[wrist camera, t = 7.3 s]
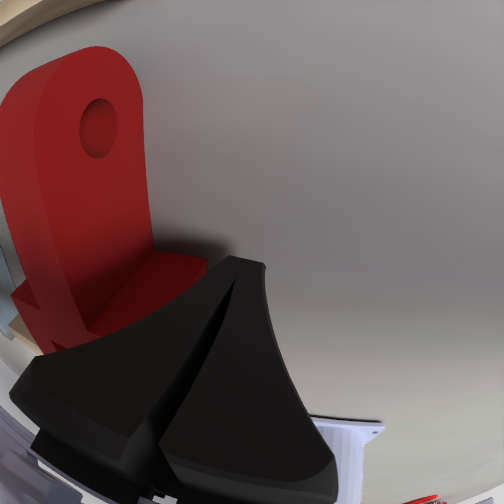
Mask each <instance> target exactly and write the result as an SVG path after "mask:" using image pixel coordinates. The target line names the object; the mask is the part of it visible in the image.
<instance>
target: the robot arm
mask: <svg viewBox="0 0 504 504" xmlns="http://www.w3.org/2000/svg"><path fill="white" fill-rule="evenodd" d="M265 269H266V266H265V265H264V263H262V262H257V261H253V260H248V259H244V258H239V257H235V256H230V255H229V256H227V257H226V258H225V259H224V260H222V261H221V262H220V263H219V264H218V265H217V266H216V267H215V268H213V269H212V270H211V271H210V272H209V273H208V274H206V275H205V276H204V277H203V278H201V279H200V280H199V281H198V282H196V283H195V284H194V285H193V286H191V287H190V288H189V289H187V290H186V291H185V292H183V293H182V294H180V295H179V296H177V297H176V298H174V299H173V300H172V301H170V302H169V303H167V304H166V305H164V306H162V307H161V308H159V309H158V310H156V311H154V312H153V313H151V314H149V315H147V316H146V317H144V318H142V319H140V320H138V321H136V322H134V323H132V324H130V325H128V326H126V327H124V328H122V329H120V330H117V331H115V332H113V333H111V334H109V335H106V336H103V337H101V338H98V339H96V340H93V341H90V342H87V343H84V344H81V345H78V346H75V347H72V348H68V349H64V350H60V351H57V352H53V353H49V354H44V355H40V356H35V358H34V359H33V360H32V361H31V363H30V364H29V365H28V367H27V368H26V369H25V371H24V372H23V373H22V375H21V376H20V378H19V379H18V380H17V382H16V383H15V385H14V386H13V388H12V389H11V391H10V392H9V395H10V399H11V400H12V402H13V403H14V404H15V405H16V406H17V407H18V408H19V409H20V410H21V411H22V412H23V413H24V414H25V415H26V416H27V417H28V418H30V420H32V421H33V422H34V423H35V424H36V425H37V426H38V427H39V428H40V430H39V432H38V434H37V435H36V436H35V435H34V434H33V433H32V432H30V431H29V430H28V429H27V428H25V427H24V426H23V425H22V424H20V423H19V422H18V421H17V420H16V419H15V418H13V417H12V416H11V415H10V414H9V413H8V412H6V410H4V409H3V408H2V407H1V406H0V504H83V503H81V499H82V497H83V496H82V494H81V493H80V492H79V491H77V490H76V489H74V488H73V487H72V486H70V485H69V484H67V483H66V482H64V481H63V480H61V479H59V478H58V477H56V476H54V475H53V474H51V473H49V472H48V471H46V470H44V469H43V468H41V467H39V465H38V460H40V461H41V462H42V463H43V464H45V465H46V466H48V467H49V468H50V469H52V470H53V471H55V472H56V473H57V474H59V475H60V476H62V477H64V478H65V479H66V480H68V481H70V482H71V483H73V484H74V485H76V486H78V487H79V488H81V489H83V490H84V491H86V492H88V493H90V494H91V495H93V496H95V497H97V498H99V499H101V500H103V501H104V502H106V503H108V504H159V503H156V502H154V501H152V499H153V497H154V495H155V496H158V497H161V498H163V499H164V497H165V495H167V496H170V497H173V498H176V499H178V500H177V503H176V504H361V496H362V480H363V449H364V445H365V444H367V443H368V442H369V441H371V440H372V439H373V438H374V437H376V436H377V435H378V434H380V433H381V432H382V431H383V430H384V429H385V424H384V423H372V422H355V421H342V420H332V419H323V418H315V417H310V415H309V414H308V412H307V410H306V408H305V407H304V405H303V403H302V401H301V399H300V397H299V395H298V392H297V390H296V388H295V386H294V384H293V382H292V380H291V378H290V376H289V373H288V371H287V368H286V366H285V363H284V361H283V358H282V356H281V353H280V350H279V347H278V344H277V341H276V338H275V334H274V331H273V327H272V323H271V319H270V315H269V310H268V304H267V298H266V291H265ZM37 459H38V460H37ZM476 504H493V498H492V497H491V498H488V499H486V500H483V501H481V502H479V503H476Z"/></svg>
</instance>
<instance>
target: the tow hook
mask: <svg viewBox="0 0 504 504" xmlns="http://www.w3.org/2000/svg"><path fill="white" fill-rule="evenodd" d="M437 497H438V495H432V496H428V497H424V498H421V499H418V500H415V501H412V502H410V503H404V504H420V503H424V502H427V501H430V500H433V499H435V498H437Z"/></svg>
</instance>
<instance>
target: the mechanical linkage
mask: <svg viewBox="0 0 504 504" xmlns="http://www.w3.org/2000/svg"><path fill="white" fill-rule="evenodd" d="M0 198H1V202H2V206H3V210H4V214H5V217H6V221H7V224H8V228H9V231H10V234H11V237H12V240H13V243H14V246H15V249H16V252H17V255H18V257H19V260H20V263H21V265H22V268H23V271H24V273H25V276H26V278H27V279H26V280H25V281H24V282H23V283H22V284H21V285H20V286H19V287H18V288H17V289H16V290H15V291H14V292H13V293H12V294H11V295H10V297H11V299H12V301H13V303H14V305H15V306H16V308H17V310H18V312H19V314H20V316H21V318H22V320H23V321H24V323H25V325H26V327H27V329H28V330H29V332H30V334H31V335H32V337H33V339H34V340H35V342H36V344H37V345H38V347H39V348H40V350H41V351H42V353H43V354H49V353H53V352H57V351H60V350H64V349H68V348H72V347H75V346H78V345H81V344H84V343H87V342H90V341H93V340H96V339H98V338H101V337H103V336H106V335H109V334H111V333H113V332H115V331H117V330H120V329H122V328H124V327H126V326H128V325H130V324H132V323H134V322H136V321H138V320H140V319H142V318H144V317H146V316H147V315H149V314H151V313H153V312H154V311H156V310H158V309H159V308H161V307H162V306H164V305H166V304H167V303H169V302H170V301H172V300H173V299H174V298H176V297H177V296H179V295H180V294H182V293H183V292H185V291H186V290H187V289H189V288H190V287H191V286H193V285H194V284H195V283H196V282H198V281H199V280H200V279H201V278H203V277H204V276H205V275H206V274H208V265H207V258H201V257H195V256H188V255H182V254H176V253H170V252H164V251H158V250H154V243H153V236H152V228H151V220H150V212H149V202H148V192H147V181H146V168H145V152H144V131H143V97H142V93H141V88H140V85H139V82H138V79H137V77H136V75H135V73H134V71H133V69H132V67H131V66H130V64H129V63H128V62H127V60H126V59H125V58H124V57H123V56H122V55H120V54H119V53H118V52H116V51H114V50H112V49H110V48H106V47H101V46H94V47H88V48H84V49H81V50H78V51H76V52H73V53H70V54H68V55H65V56H63V57H60V58H58V59H55V60H53V61H51V62H48V63H46V64H44V65H42V66H40V67H38V68H35V69H33V70H32V71H30V72H28V73H27V74H25V75H24V76H22V77H21V78H20V79H19V80H18V81H17V82H16V83H15V84H14V85H13V86H12V87H11V89H10V90H9V92H8V93H7V94H6V96H5V98H4V100H3V101H2V103H1V105H0Z"/></svg>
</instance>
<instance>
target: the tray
mask: <svg viewBox="0 0 504 504" xmlns="http://www.w3.org/2000/svg"><path fill="white" fill-rule="evenodd" d="M101 1H105V0H3V1H2V2H0V47H1V46H3V45H4V44H6V43H8V42H10V41H11V40H13V39H15V38H17V37H18V36H20V35H22V34H24V33H26V32H28V31H30V30H32V29H34V28H36V27H38V26H40V25H42V24H44V23H46V22H48V21H51V20H53V19H55V18H57V17H60V16H62V15H65V14H67V13H70V12H72V11H75V10H78V9H80V8H83V7H86V6H89V5H92V4H95V3H98V2H101ZM15 290H16V287H15V285H14V282H13V280H12V277H11V275H10V272H9V270H8V267H7V264H6V261H5V259H4V256H3V253H2V250H1V247H0V330H1V332H2V334H3V335H4V336H6V337H7V338H8V339H10V340H11V341H12V340H13V339H14V337H15V338H16V339H18V340H19V341H20V342H22V343H23V344H25V345H26V346H28V347H29V348H31V349H32V350H34V351H35V352H37V353H38V354H40V355H44V354H43V353H42V351H41V350H40V348H39V347H38V345H37V344H36V342H35V340H34V339H33V337H32V335H31V334H30V332H29V330H28V329H27V327H26V325H25V323H24V321H23V320H22V318H21V316H20V314H19V312H18V310H17V308H16V306H15V305H14V303H13V301H12V299H11V297H10V295H11V294H12V293H13V292H14V291H15Z"/></svg>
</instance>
